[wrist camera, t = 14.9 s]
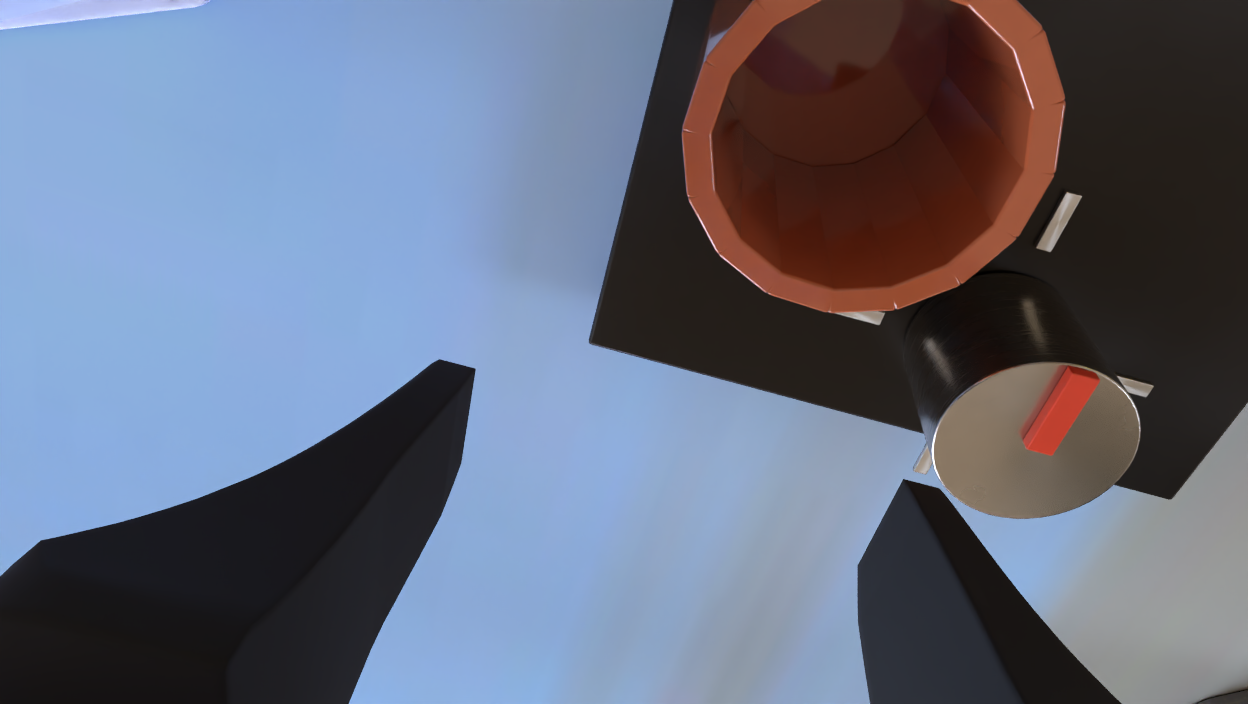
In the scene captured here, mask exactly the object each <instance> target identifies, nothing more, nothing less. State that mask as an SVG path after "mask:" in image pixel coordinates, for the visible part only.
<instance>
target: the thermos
mask: <svg viewBox="0 0 1248 704" xmlns="http://www.w3.org/2000/svg"><path fill="white" fill-rule="evenodd" d="M1198 704H1248V690H1246V691H1241V692H1237V693H1232V694H1228V695H1224V696H1219V697H1215V698H1210V699H1207V700H1205V701H1202V702H1200V703H1198Z"/></svg>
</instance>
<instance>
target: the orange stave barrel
mask: <svg viewBox="0 0 1248 704" xmlns="http://www.w3.org/2000/svg"><path fill="white" fill-rule="evenodd" d="M1064 99H1065V93H1064V90H1063V86H1062V83H1061V80H1060V77H1059V74H1058V70H1057V67H1056V64H1055V61H1054V57H1053V54H1052V51H1051V48H1050V44H1049V41H1048V38H1047V35H1046V32H1045V31H1044V30H1043V29H1042V25H1041V24H1040V23H1039V22H1038V21H1037V20H1036V19H1035V18H1034V17H1033V16H1032V15H1031V14H1030V13H1029V12H1028V11H1027V10H1026V9H1025V8H1024V7H1023V6H1022V5H1021V4H1020V3H1019V2H1018V1H1017V0H715V4H714V7H713V9H712V12H711V15H710V18H709V22H708V26H707V29H706V32H705V35H704V38H703V41H702V45H701V49H700V53H699V57H698V62H697V66H696V70H695V75H694V79H693V83H692V87H691V92H690V96H689V100H688V105H687V109H686V113H685V117H684V122H683V126H682V127H683V129H682V145H683V157H684V169H685V181H686V193H687V196H688V200H689V202H690V204H691V206H692V208H693V210H694V212H695V214H696V215H697V217H698V219H699V221H700V223H701V225H702V227H703V229H704V230H705V232H706V234H707V236H708V238H709V240H710V242H711V243H712V245H713V247H714V249H715V251H716V252H717V253H719V256H720V257H721V258H723V259H724V260H725V261H726V262H728V263H729V264H730V265H731V266H733V267H734V268H735V269H736V270H738V271H739V272H740V273H741V274H743V275H744V276H745V277H746V278H748V279H749V280H750V281H751V282H753V283H754V284H755V285H756V286H757V287H759V288H760V289H761V290H762V291H764V292H766V293H767V292H768V294H769V295H772V296H775V297H778V298H782V299H785V300H788V301H791V302H794V303H798V304H801V305H804V306H807V307H810V308H813V309H817V310H820V311H823V312H828V311H829V312H830V313H845V312H869V311H892V310H895V308H896V309H901V308H903V307H906V306H908V305H911V304H913V303H916V302H919V301H921V300H924V299H926V298H929V297H932V296H934V295H937V294H939V293H942V292H945V291H947V290H950V289H952V288H955V287H957V286H959V285H960V283H965V282H966V281H967V280H968V279H969V278H971V277H972V276H973V275H974V274H975V273H977V272H978V271H979V270H980V269H981V268H983V267H984V266H985V265H986V264H987V263H989V262H990V261H991V260H992V259H993V258H995V257H996V256H997V255H998V254H999V253H1001V252H1002V251H1003V250H1004V249H1005V248H1007V247H1008V246H1009V245H1010V244H1011V243H1013V242H1014V241H1015V240H1016V237H1018V236H1019V235H1020V234H1021V232H1022V230H1023V228H1024V227H1025V225H1026V223H1027V222H1028V220H1029V218H1030V217H1031V215H1032V213H1033V211H1034V210H1035V208H1036V206H1037V205H1038V203H1039V201H1040V200H1041V198H1042V196H1043V194H1044V193H1045V191H1046V189H1047V188H1048V186H1049V184H1050V182H1051V181H1052V179H1053V177H1054V173H1055V171H1056V169H1057V162H1058V155H1059V148H1060V141H1061V134H1062V127H1063V120H1064V113H1065V106H1066V102H1065V100H1064Z"/></svg>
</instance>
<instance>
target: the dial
mask: <svg viewBox="0 0 1248 704" xmlns="http://www.w3.org/2000/svg"><path fill="white" fill-rule="evenodd" d="M903 358H904V365H905V369H906V372H907V376H908V379H909V383H910V386H911V390H912V393H913V397H914V400H915V404H916V407H917V411H918V414H919V418H920V421H921V425H922V428H923V432H924V435H925V439H926V442H927V445H928V449H929V452H930V456H931V459H932V463H933V466H934V470H935V472H936V474H937V476H938V478H939V480H940V481H941V483H942V484H943V486H944V487H945V488H946V489H947V490H948V491H949V492H950V494H952V495H953V496H954V497H955V498H957V499H958V500H959V501H960V502H962V503H964V504H965V505H967V506H969V507H971V508H973V509H975V510H978V511H980V512H983V513H986V514H989V515H994V516H998V517H1004V518H1014V519H1029V518H1041V517H1046V516H1052V515H1056V514H1060V513H1063V512H1067V511H1070V510H1072V509H1075V508H1078V507H1080V506H1082V505H1084V504H1086V503H1088V502H1090V501H1092V500H1093V499H1095V498H1097V497H1098V496H1100V495H1101V494H1103V493H1104V492H1105V491H1107V490H1108V489H1109V488H1111V487H1112V486H1113V485H1114V484H1115V483H1116V482H1117V481H1118V480H1119V479H1120V478H1121V477H1122V475H1123V474H1124V473H1125V472H1126V470H1127V469H1128V467H1129V466H1130V464H1131V463H1132V461H1133V459H1134V457H1135V454H1136V452H1137V450H1138V446H1139V442H1140V434H1141V424H1140V417H1139V413H1138V410H1137V407H1136V405H1135V403H1134V401H1133V399H1132V398H1131V396H1130V395H1129V393H1128V392H1127V390H1126V389H1125V387H1124V386H1123V384H1122V383H1121V381H1120V380H1119V378H1118V377H1117V375H1116V374H1115V372H1114V371H1113V369H1112V368H1111V366H1110V365H1109V363H1108V362H1107V360H1106V359H1105V357H1104V356H1103V354H1102V353H1101V351H1100V350H1099V349H1098V347H1097V346H1096V344H1095V343H1094V341H1093V340H1092V338H1091V337H1090V335H1089V334H1088V332H1087V331H1086V329H1085V328H1084V326H1083V325H1082V323H1081V322H1080V320H1079V319H1078V317H1077V316H1076V314H1075V313H1074V311H1073V310H1072V308H1071V307H1070V305H1069V304H1068V303H1067V301H1066V300H1065V299H1064V297H1063V296H1062V295H1061V294H1059V293H1058V292H1057V291H1056V290H1055V289H1053V288H1052V287H1051V286H1049V285H1048V284H1046V283H1044V282H1042V281H1040V280H1037V279H1034V278H1031V277H1028V276H1024V275H1019V274H1012V273H990V274H984V275H978V276H974V277H971V278H969V279H968V280H967V281H966V282H965V283H960V285H959V286H957V287H955V288H952V289H950V290H947V291H945V292H942V293H939V294H937V295H935V296H934V297H933V298H931V299H930V300H929V301H928V302H927V303H926V304H925V305H924V306H923V307H922V308H921V309H920V311H919V312H918V313H917V315H916V316H915V317H914V319H913V321H912V323H911V325H910V326H909V329H908V331H907V334H906V337H905V342H904V349H903Z"/></svg>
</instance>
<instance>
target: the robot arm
mask: <svg viewBox="0 0 1248 704" xmlns="http://www.w3.org/2000/svg"><path fill="white" fill-rule="evenodd" d="M209 2H210V0H0V30H2V29H11V28H19V27H28V26H37V25H45V24H54V23H63V22H71V21H80V20H89V19H97V18H106V17H115V16H123V15H132V14H141V13H149V12H158V11H167V10H176V9H184V8H193V7H198V6H201V5H204V4H206V3H209ZM474 376H475V368H471V367H467V366H463V365H459V364H455V363H452V362H448V361H444V360H440V359H439V360H437V361H436V362H434V363H432V364H431V365H429V366H428V367H427V368H426V369H424V370H423V371H422V372H420V373H419V374H418V375H417V376H415V377H414V378H413V379H411V380H410V381H409V382H408V383H406V384H405V385H404V386H402V387H401V388H400V389H398V390H397V391H396V392H394V393H393V394H392V395H390V396H389V397H387V398H386V399H385V400H383V401H382V402H380V403H379V404H377V405H376V406H375V407H373V408H372V409H370V410H369V411H367V412H366V413H364V414H363V415H362V416H360V417H359V418H357V419H356V420H354V421H353V422H351V423H350V424H348V425H346V426H345V427H343V428H342V429H340V430H338V431H337V432H335V433H333V434H332V435H330V436H328V437H327V438H325V439H323V440H322V441H320V442H319V443H317V444H315V445H314V446H312V447H310V448H308V449H306V450H305V451H303V452H301V453H299V454H297V455H296V456H294V457H292V458H290V459H288V460H286V461H284V462H282V463H280V464H278V465H276V466H274V467H272V468H270V469H268V470H266V471H264V472H262V473H260V474H257V475H255V476H253V477H251V478H248V479H246V480H243V481H241V482H238V483H236V484H233V485H231V486H228V487H226V488H223V489H220V490H218V491H215V492H213V493H210V494H208V495H205V496H203V497H200V498H197V499H195V500H192V501H189V502H186V503H183V504H180V505H177V506H174V507H171V508H168V509H165V510H161V511H158V512H155V513H151V514H148V515H145V516H141V517H138V518H134V519H131V520H127V521H123V522H120V523H116V524H112V525H108V526H103V527H99V528H95V529H90V530H86V531H82V532H78V533H73V534H69V535H65V536H61V537H56V538H51V539H46V540H41V541H40V542H39V543H38V544H36V545H35V546H34V547H33V548H32V549H31V550H29V551H28V552H27V553H26V554H25V555H23V556H22V557H21V558H20V559H19V560H17V561H16V562H15V563H14V564H13V565H12V566H11V567H10V568H9V569H8V570H7V571H6V572H4V573H3V574H2V575H1V576H0V704H349V701H350V699H351V696H352V694H353V692H354V689H355V687H356V684H357V682H358V679H359V677H360V675H361V672H362V670H363V667H364V665H365V662H366V660H367V658H368V655H369V653H370V650H371V648H372V646H373V644H374V642H375V640H376V638H377V635H378V633H379V631H380V629H381V627H382V625H383V623H384V621H385V619H386V617H387V616H388V614H389V612H390V610H391V608H392V606H393V604H394V603H395V601H396V599H397V597H398V595H399V593H400V591H401V590H402V588H403V586H404V584H405V582H406V580H407V578H408V577H409V575H410V573H411V571H412V569H413V567H414V565H415V564H416V562H417V560H418V558H419V556H420V554H421V552H422V551H423V549H424V547H425V545H426V543H427V541H428V539H429V537H430V535H431V534H432V532H433V530H434V528H435V526H436V524H437V522H438V520H439V518H440V516H441V514H442V512H443V509H444V507H445V504H446V502H447V499H448V497H449V494H450V492H451V489H452V486H453V484H454V481H455V478H456V476H457V473H458V470H459V468H460V465H461V461H462V454H463V448H464V441H465V435H466V428H467V422H468V415H469V409H470V402H471V395H472V389H473V382H474ZM858 624H859V632H860V639H861V646H862V653H863V659H864V666H865V673H866V679H867V686H868V692H869V698H870V704H1121V703H1120V702H1119V701H1118V700H1117V699H1116V698H1115V697H1114V696H1113V695H1112V694H1111V693H1110V692H1109V691H1108V690H1107V689H1106V688H1105V687H1104V686H1103V685H1102V684H1101V683H1100V682H1099V681H1098V680H1097V679H1096V678H1095V677H1094V676H1093V675H1092V674H1091V673H1090V672H1089V671H1088V670H1087V669H1086V668H1085V667H1084V666H1083V665H1082V664H1081V663H1080V662H1079V661H1078V660H1077V658H1076V657H1075V656H1074V655H1073V654H1072V653H1071V652H1070V651H1069V650H1068V649H1067V648H1066V647H1065V645H1064V644H1063V643H1062V642H1061V641H1060V640H1059V639H1058V638H1057V636H1056V635H1055V634H1054V633H1053V632H1052V631H1051V629H1050V628H1049V627H1048V626H1047V625H1046V624H1045V622H1044V621H1043V620H1042V619H1041V618H1040V617H1039V615H1038V614H1037V613H1036V612H1035V611H1034V610H1033V608H1032V607H1031V606H1030V605H1029V603H1028V602H1027V601H1026V600H1025V599H1024V597H1023V596H1022V595H1021V594H1020V592H1019V591H1018V590H1017V589H1016V587H1015V586H1014V585H1013V584H1012V582H1011V581H1010V580H1009V578H1008V577H1007V576H1006V575H1005V573H1004V572H1003V571H1002V569H1001V568H1000V567H999V566H998V564H997V563H996V562H995V560H994V559H993V558H992V556H991V555H990V554H989V552H988V551H987V550H986V548H985V547H984V546H983V544H982V543H981V542H980V540H979V539H978V538H977V536H976V535H975V534H974V532H973V531H972V530H971V528H970V527H969V526H968V524H967V523H966V522H965V520H964V519H963V518H962V516H961V515H960V514H959V512H958V511H957V510H956V508H955V507H954V506H953V504H952V503H951V502H950V501H949V499H948V498H947V497H946V496H945V494H944V493H943V492H942V491H941V490H940V489H939V488H936V487H932V486H928V485H924V484H920V483H916V482H912V481H908V480H905V479H903V481H902V483H901V485H900V487H899V488H898V490H897V492H896V494H895V496H894V498H893V500H892V502H891V504H890V506H889V507H888V509H887V511H886V513H885V515H884V517H883V519H882V521H881V523H880V524H879V526H878V528H877V530H876V532H875V534H874V536H873V538H872V540H871V542H870V543H869V545H868V547H867V549H866V551H865V553H864V555H863V557H862V559H861V560H860V562H859V564H858Z"/></svg>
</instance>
